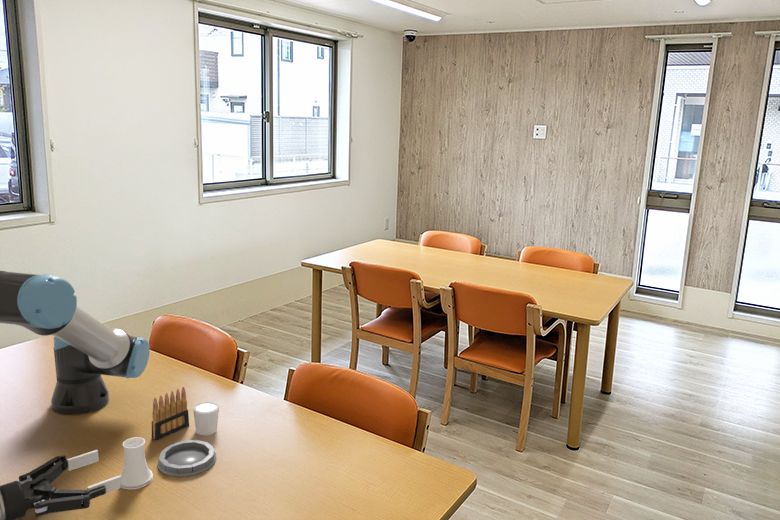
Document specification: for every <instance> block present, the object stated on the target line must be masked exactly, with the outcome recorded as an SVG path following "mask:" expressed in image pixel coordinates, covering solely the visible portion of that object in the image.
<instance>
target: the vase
mask: <svg viewBox="0 0 780 520" xmlns="http://www.w3.org/2000/svg"><path fill="white" fill-rule="evenodd" d="M145 443H146V439H145V438H143V437H140V436H139V437H138V436H136V437H130V438H127V439H125V440H124V441H123V442H122V447H123V456H124V457H123V458H124V459H123V460H124V461H123V467H122V471H121V474H120V475H118V476H119V477H120V487H121V488H120V489H124V490H132V491H133V490H138V489H142V488H144V487H146V486H148V485H149V484H150V483H151V482H152V481H153V479H154V478H153V477H154V476H153V471H152V470H151V469H149V466H148V463H147V460H146V455H145V445H146V444H145Z"/></svg>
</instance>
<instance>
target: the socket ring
mask: <svg viewBox="0 0 780 520" xmlns="http://www.w3.org/2000/svg"><path fill="white" fill-rule="evenodd" d="M216 460H217V455H216V452H215V447H214V446H213V445H211V443H209V442H207V441H203V440H199V439H189V440H180V441H178V442H175V443H172V444H169V445H167V446H166V447H165V448H164V449H162V450H161V452H160V454H159V458H158V460H157V468H158V471H160V473H162V474H164V475H166V476H168V477H173V478H188V477H194V476H196V475H200V474H202V473H205V472H206V471H208V470H209V469H211V468H212V467H213V466H214V465H215V463H216Z"/></svg>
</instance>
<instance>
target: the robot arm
mask: <svg viewBox="0 0 780 520" xmlns="http://www.w3.org/2000/svg"><path fill="white" fill-rule="evenodd" d="M77 304H78V299H77V295H75V289H74V286H73V285H72V284H71V283H70V282H69V281H68V280H66V279H65V278H62V277H61V276H60V277H59V276H56V275H52V274H44V273H43V274H34V273H33V274H32V273H23V272H13V271H5V270H0V324H6V325H7V324H8V325H16V326H20V327H22V328H25V329H27V330H29V331H31V332H32V333H34V334H36V335H39V336H46V337H47V336H48V337H49V336H53V347H52V348H53V354H54V365H55V366H54V367H55V375H56V377H55V378H56V383H55V385H54V386H55V387H54V390H53V393H52V397H51V410H53V412H55V413H56V414H60V415H67V416H68V415H70V416H71V415H83V414H87V413H91V412H94V411H97V410H99V409H101V408H103V407H104V406H106V404H108V403H109V400H110V393H109V390H108V387H107V385H106V384H105V381H104V379H103V377H102V375H103V376H111V377H118V378H125V379H130V378H131V379H137V378H140V376H141V375H142V374H143V373H144V371H145V370H146V368H147V365H148V362H149V360H150V359H149V358H150V348H151V347H150V343H149V340H147V338H145V337H141V336H138V337H137V336H132V335H130V334H128V333H127V332H126V331H124V330H122V329H120V328H117V327H111V328H109V327H108V326H106V325H105V324H104V323H102V322H101V321H99V320H98V319H96V318H95V317H93V316H91V314H89V313H88V312H86V311H84V310H83V309H81V308H80V307H79V306H78V305H77ZM98 462H100V460H99V450H98V449H95V450H91V451H89V452H85V453H82V454H80V455H79V454H78V455H77V456H73V457H70V458H67V456H66V455H64V454H63V455H57V456H54V457H53V458H51V459H50V460H48V461H46V462H45V463H43V464H41V465H39V466H38V467H36V468H34V469H32V470H31V471H29V472H26V473H25V474H24V473H23V474H21V475H19V476H18V480H13V481H10V482H8V483H4V484H2V485H0V520H18V519H20V518H24V517H25V516H26V514H27V511H28V510H32V509H34V511H35V516H36V517H41V516H44V515H48V514H52V513H60V512H68V511H77V510H84V509H88V508H89V507H90V505H91V500H93V499H96V498H98V497H101V496H103V495H104V496H105V495H106V494H108V493H111V492H113V491H116V490H118V489H119V490H120V489H122V488H121V487H120V477H119V476H120V475H117V476H113V477H111V478H108V479H105V480H102V481H100V482H96V483H94V484H91V485H89V486H87V487H86V488H87V489H70V488H69V489H64V488H63V489H60V488H59V489H58V488H57V487H55V486H52V485H51V484H52V483H53V482H54V481H56V479H57V478H59V477H60V476H61V475H62V474H63V473H65V471H67V470H68V471H69V472H71V471H73V470H76V469H79V468H83V467H85V466H89V465H91V464H96V463H98Z"/></svg>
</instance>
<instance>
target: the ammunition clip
mask: <svg viewBox="0 0 780 520" xmlns="http://www.w3.org/2000/svg"><path fill="white" fill-rule="evenodd" d="M189 418H190V417H189V409H188V401H187V393H186V389H185V386H182V388H181V393H180V390H179V388H177V389H176V391H175V393H174V391H173V390H171V392H170V397H169V393H167V392H166V393H165V396H164V398H163V395H160V396H159V400H158V399H157V398H156V397H154V398H153V401H152V421H151V439H152V440H153V441H159V440H162V439H163V438H166V437H168V436H170V435H172V434H175V433H177V432H179V431H181V430H184V429H185V428H188V427H190V419H189Z"/></svg>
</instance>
